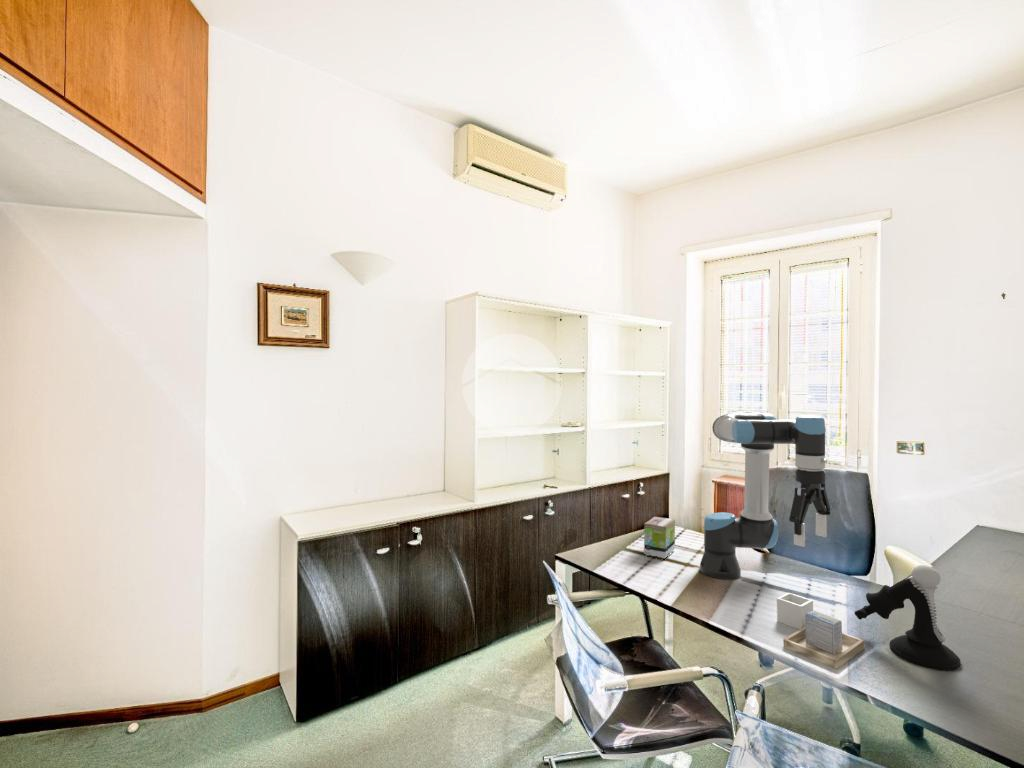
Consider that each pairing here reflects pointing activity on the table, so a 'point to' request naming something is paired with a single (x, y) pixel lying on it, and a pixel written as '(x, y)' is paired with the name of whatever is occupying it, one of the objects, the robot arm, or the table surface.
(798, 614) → the pen cup
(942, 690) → the table surface
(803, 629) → the birch tray
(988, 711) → the table surface
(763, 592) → the table surface
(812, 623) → the medicine box
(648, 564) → the table surface
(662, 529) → the tea box
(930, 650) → the sculpture
